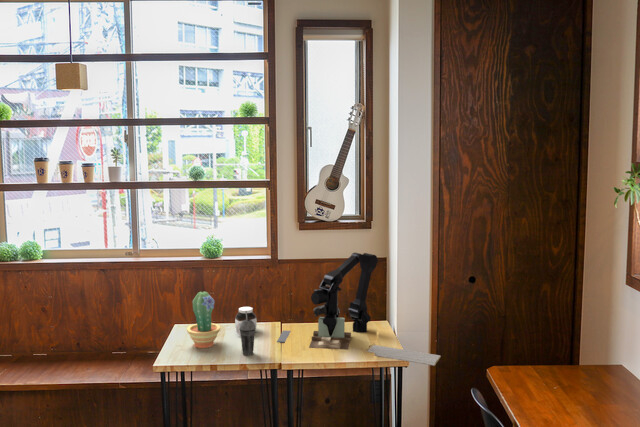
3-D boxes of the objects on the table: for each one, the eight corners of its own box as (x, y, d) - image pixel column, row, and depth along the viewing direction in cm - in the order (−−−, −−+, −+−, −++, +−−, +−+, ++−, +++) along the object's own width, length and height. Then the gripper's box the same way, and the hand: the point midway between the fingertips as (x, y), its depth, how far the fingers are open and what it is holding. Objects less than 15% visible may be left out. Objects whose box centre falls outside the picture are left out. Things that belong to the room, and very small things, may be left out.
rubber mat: (311, 332, 297) (311, 331, 297) (306, 343, 281) (306, 342, 281) (283, 331, 298) (283, 330, 298) (276, 342, 283) (276, 341, 283)
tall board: (344, 338, 287) (344, 317, 285) (343, 341, 283) (343, 320, 281) (319, 337, 288) (319, 316, 287) (318, 339, 284) (318, 319, 283)
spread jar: (252, 327, 304) (252, 305, 303) (261, 334, 295) (261, 311, 293) (229, 331, 298) (229, 308, 297) (238, 338, 289) (238, 314, 287)
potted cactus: (187, 351, 270) (185, 297, 267) (186, 340, 285) (185, 288, 282) (222, 348, 274) (221, 295, 271) (219, 337, 289) (218, 286, 286)
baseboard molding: (433, 368, 254) (440, 358, 265) (433, 361, 254) (440, 352, 264) (364, 356, 267) (373, 348, 278) (364, 350, 267) (373, 341, 277)
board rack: (351, 338, 289) (351, 332, 289) (348, 351, 272) (348, 345, 271) (313, 336, 291) (313, 330, 291) (308, 349, 274) (308, 343, 273)
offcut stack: (340, 345, 277) (340, 337, 277) (339, 348, 273) (339, 340, 273) (318, 344, 279) (318, 336, 278) (317, 347, 275) (317, 339, 274)
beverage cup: (258, 352, 270) (258, 308, 268) (251, 357, 263) (251, 313, 261) (244, 350, 273) (243, 307, 270) (236, 355, 266) (236, 311, 263)
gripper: (317, 295, 293) (317, 326, 295) (311, 305, 275) (311, 338, 277) (339, 295, 292) (339, 327, 294) (336, 306, 273) (336, 339, 275)
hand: (331, 332), depth 285 cm, fingers open, 8 cm apart
